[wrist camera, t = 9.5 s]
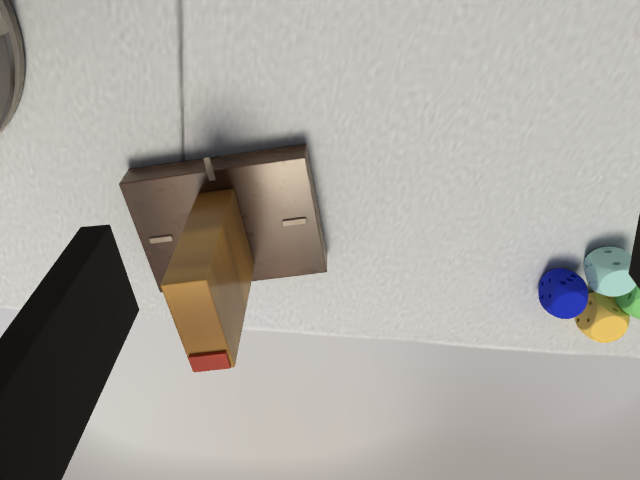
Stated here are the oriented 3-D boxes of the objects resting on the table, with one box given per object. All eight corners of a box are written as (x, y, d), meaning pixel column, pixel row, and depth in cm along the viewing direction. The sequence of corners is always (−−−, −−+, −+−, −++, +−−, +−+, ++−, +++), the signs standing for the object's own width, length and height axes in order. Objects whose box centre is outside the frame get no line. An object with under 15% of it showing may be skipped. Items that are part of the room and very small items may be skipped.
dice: (535, 255, 39) (534, 328, 42) (547, 279, 37) (545, 354, 40) (663, 237, 38) (652, 314, 42) (683, 261, 36) (670, 340, 39)
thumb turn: (197, 193, 35) (158, 288, 27) (234, 187, 35) (205, 282, 27) (220, 269, 38) (191, 375, 30) (254, 265, 37) (234, 370, 30)
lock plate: (170, 284, 41) (163, 304, 39) (124, 156, 36) (112, 171, 34) (329, 265, 40) (329, 284, 38) (304, 129, 35) (302, 144, 33)
